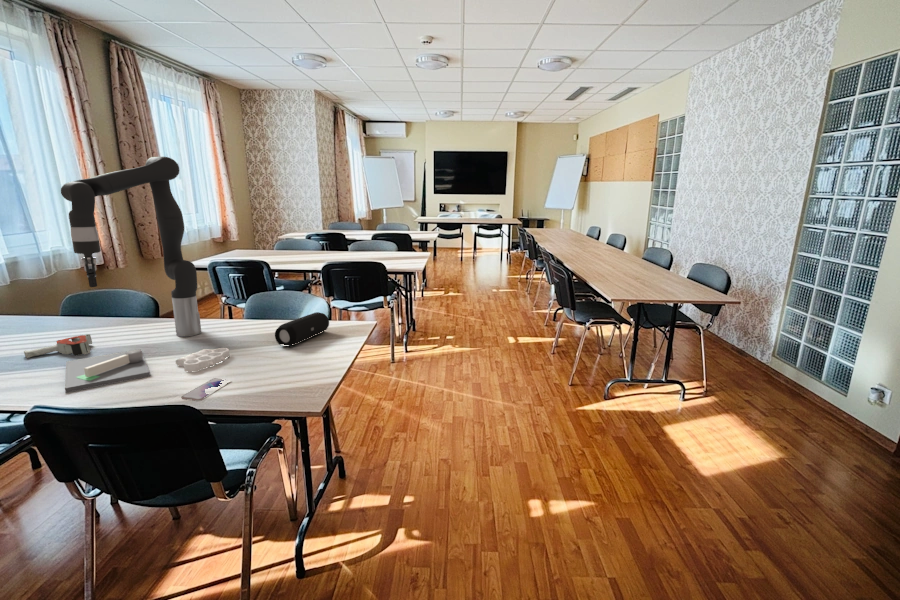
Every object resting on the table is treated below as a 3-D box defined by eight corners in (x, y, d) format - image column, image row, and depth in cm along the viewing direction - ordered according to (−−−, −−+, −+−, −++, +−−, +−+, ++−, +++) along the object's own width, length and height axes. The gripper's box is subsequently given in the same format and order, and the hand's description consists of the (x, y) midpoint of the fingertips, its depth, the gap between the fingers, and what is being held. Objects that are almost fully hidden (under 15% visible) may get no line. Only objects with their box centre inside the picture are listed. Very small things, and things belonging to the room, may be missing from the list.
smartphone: (232, 380, 147) (200, 399, 133) (232, 382, 147) (200, 402, 133) (213, 377, 148) (179, 396, 134) (213, 380, 149) (179, 399, 134)
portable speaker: (292, 350, 178) (291, 327, 176) (273, 346, 182) (272, 323, 179) (331, 333, 201) (330, 312, 199) (313, 330, 205) (312, 309, 202)
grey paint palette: (208, 353, 173) (238, 358, 169) (168, 369, 156) (200, 375, 152) (208, 345, 172) (238, 349, 168) (166, 360, 156) (199, 366, 152)
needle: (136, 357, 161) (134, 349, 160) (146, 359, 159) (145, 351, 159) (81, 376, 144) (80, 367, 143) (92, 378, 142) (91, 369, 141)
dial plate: (141, 352, 170) (140, 348, 170) (150, 375, 150) (149, 371, 149) (66, 365, 157) (66, 361, 156) (65, 392, 136) (64, 388, 135)
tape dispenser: (21, 362, 162) (69, 362, 160) (16, 349, 161) (65, 349, 159) (65, 345, 179) (109, 344, 177) (61, 332, 178) (106, 332, 176)
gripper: (99, 240, 154) (107, 288, 158) (98, 237, 163) (105, 282, 167) (71, 241, 149) (80, 291, 153) (71, 238, 159) (80, 284, 163)
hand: (93, 286), depth 160 cm, fingers closed
